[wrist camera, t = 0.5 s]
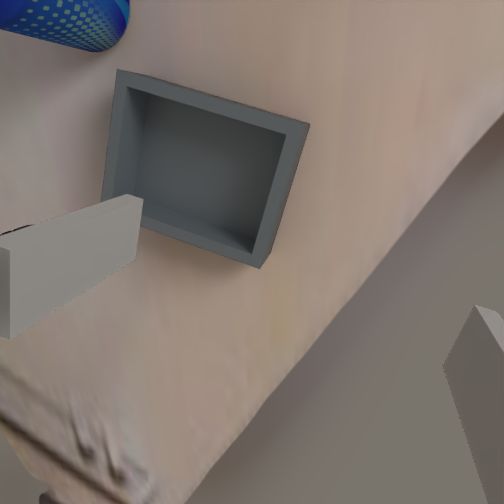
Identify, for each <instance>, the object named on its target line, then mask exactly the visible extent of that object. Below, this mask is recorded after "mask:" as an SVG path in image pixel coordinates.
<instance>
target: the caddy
mask: <svg viewBox="0 0 504 504" xmlns="http://www.w3.org/2000/svg"><path fill="white" fill-rule="evenodd" d="M309 127H310V124H309V123H305V122H302V121H298V120H295V119H292V118H288V117H285V116H282V115H278V114H275V113H271V112H268V111H265V110H261V109H258V108H255V107H251V106H248V105H245V104H241V103H238V102H234V101H231V100H228V99H224V98H221V97H218V96H214V95H211V94H208V93H204V92H201V91H197V90H194V89H191V88H187V87H184V86H181V85H177V84H174V83H171V82H167V81H164V80H160V79H157V78H154V77H150V76H147V75H143V74H138V73H134V72H129V71H124V70H119V69H117V73H116V81H115V89H114V98H113V106H112V114H111V122H110V131H109V139H108V147H107V155H106V164H105V172H104V180H103V188H102V197H101V202H104V201H107V200H110V199H113V198H116V197H119V196H122V195H125V194H129V195H132V196H135V197H138V198H141V199H143V207H142V214H141V221H140V226H142V227H144V228H147V229H150V230H153V231H156V232H158V233H161V234H164V235H167V236H169V237H172V238H175V239H178V240H181V241H183V242H186V243H189V244H192V245H194V246H197V247H200V248H203V249H206V250H208V251H211V252H214V253H217V254H220V255H222V256H225V257H228V258H231V259H233V260H236V261H239V262H242V263H245V264H247V265H250V266H253V267H256V268H258V269H260V268H261V267H262V265H263V264H264V262H265V261H266V259H267V258H268V256H269V255H270V253H271V250H272V246H273V243H274V240H275V237H276V233H277V230H278V227H279V224H280V221H281V217H282V214H283V211H284V208H285V204H286V201H287V198H288V195H289V191H290V188H291V185H292V182H293V179H294V175H295V172H296V169H297V166H298V162H299V159H300V156H301V153H302V150H303V146H304V143H305V140H306V137H307V133H308V130H309Z"/></svg>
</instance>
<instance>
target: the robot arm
mask: <svg viewBox="0 0 504 504" xmlns="http://www.w3.org/2000/svg"><path fill="white" fill-rule="evenodd" d="M142 207H143V199H141V198H138V197H135V196H132V195H129V194H125V195H122V196H119V197H116V198H113V199H110V200H107V201H104V202H101V203H98V204H95V205H92V206H89V207H86V208H83V209H80V210H77V211H74V212H71V213H68V214H65V215H62V216H59V217H56V218H53V219H50V220H47V221H44V222H41V223H38V224H34V225H26V226H23V227H20V228H17V229H14V230H13V231H8V232H5V233H2V235H0V336H3V337H5V338H8V339H11V338H13V337H15V336H16V335H18V334H19V333H21V332H22V331H24V330H26V329H27V328H29V327H30V326H32V325H33V324H35V323H37V322H38V321H40V320H41V319H43V318H44V317H46V316H48V315H49V314H51V313H52V312H54V311H55V310H57V309H59V308H60V307H62V306H63V305H65V304H66V303H68V302H70V301H71V300H73V299H74V298H76V297H77V296H79V295H81V294H82V293H84V292H85V291H87V290H88V289H90V288H92V287H93V286H95V285H96V284H98V283H99V282H101V281H103V280H104V279H106V278H107V277H109V276H110V275H112V274H113V273H115V272H117V271H118V270H120V269H121V268H123V267H124V266H126V265H128V264H129V263H131V262H132V261H134V260H135V259H136V251H137V244H138V236H139V229H140V221H141V214H142ZM443 369H444V372H445V375H446V378H447V380H448V384H449V387H450V390H451V393H452V396H453V399H454V402H455V405H456V408H457V411H458V414H459V417H460V420H461V423H462V426H463V429H464V432H465V435H466V438H467V441H468V444H469V447H470V450H471V453H472V456H473V459H474V462H475V465H476V468H477V471H478V474H479V477H480V480H481V483H482V487H483V490H484V493H485V495H486V499H487V502H488V504H504V321H503V320H502V318H501V317H500V315H499V314H498V313H497V312H496V311H493V310H490V309H486V308H483V307H480V306H477V305H474V307H473V309H472V311H471V313H470V315H469V317H468V319H467V321H466V322H465V324H464V326H463V328H462V330H461V332H460V334H459V336H458V338H457V339H456V341H455V343H454V345H453V347H452V349H451V351H450V353H449V355H448V357H447V359H446V360H445V362H444V364H443Z"/></svg>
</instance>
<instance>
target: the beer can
mask: <svg viewBox="0 0 504 504" xmlns="http://www.w3.org/2000/svg"><path fill="white" fill-rule="evenodd" d="M129 17H130V0H0V29H2V30H6V31H10V32H14V33H18V34H22V35H26V36H30V37H34V38H38V39H42V40H46V41H50V42H54V43H58V44H62V45H66V46H70V47H74V48H78V49H82V50H86V51H90V52H101V51H105V50H108V49H110V48H111V47H113V46H114V45H115V44H116V43H117V42H118V41H119V40H120V39H121V37H122V36H123V34H124V32H125V30H126V28H127V26H128V22H129Z"/></svg>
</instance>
